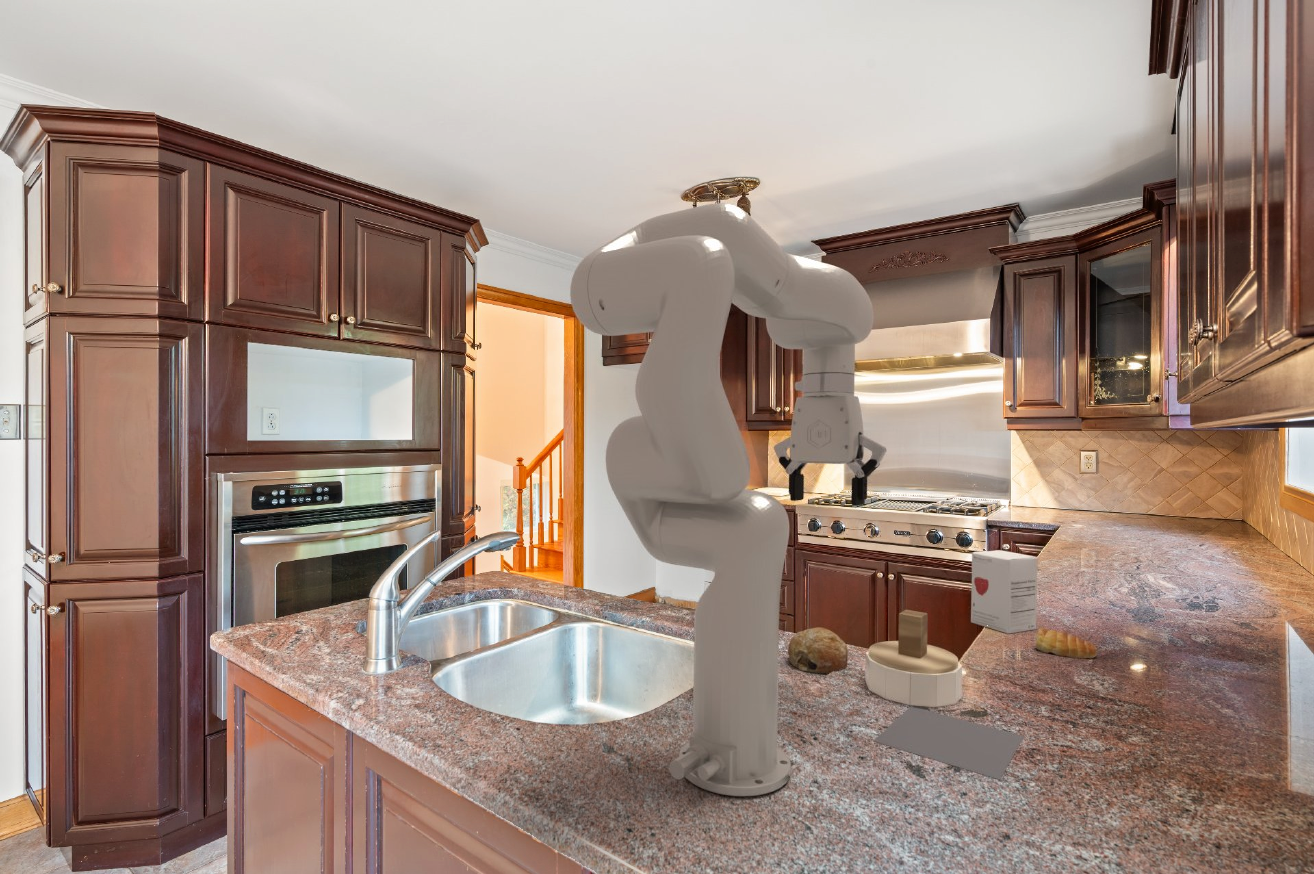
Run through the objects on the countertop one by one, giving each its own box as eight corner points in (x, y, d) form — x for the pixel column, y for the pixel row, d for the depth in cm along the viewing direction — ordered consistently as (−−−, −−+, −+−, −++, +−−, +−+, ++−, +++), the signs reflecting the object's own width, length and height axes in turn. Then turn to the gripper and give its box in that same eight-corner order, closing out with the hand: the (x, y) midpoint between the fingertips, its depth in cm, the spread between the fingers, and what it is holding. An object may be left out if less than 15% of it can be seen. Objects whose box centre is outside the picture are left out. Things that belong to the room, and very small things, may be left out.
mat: (999, 785, 71) (999, 779, 71) (873, 745, 80) (873, 740, 80) (1024, 740, 82) (1024, 736, 82) (910, 710, 91) (910, 706, 91)
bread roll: (783, 686, 109) (778, 648, 106) (798, 645, 117) (794, 609, 114) (843, 697, 105) (839, 658, 102) (855, 654, 113) (851, 617, 110)
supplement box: (969, 622, 137) (969, 551, 137) (998, 618, 141) (999, 549, 141) (1008, 634, 129) (1009, 558, 129) (1038, 629, 133) (1039, 556, 133)
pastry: (1098, 654, 118) (1098, 633, 118) (1095, 664, 113) (1095, 642, 113) (1038, 643, 124) (1038, 623, 124) (1033, 653, 118) (1033, 632, 118)
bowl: (945, 718, 88) (946, 681, 88) (853, 693, 97) (853, 660, 97) (970, 691, 98) (970, 657, 99) (884, 670, 107) (884, 640, 107)
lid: (944, 680, 89) (945, 630, 89) (856, 660, 97) (857, 614, 97) (967, 657, 99) (968, 612, 99) (885, 641, 106) (886, 599, 106)
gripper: (764, 388, 100) (762, 500, 100) (876, 383, 89) (874, 508, 89) (787, 391, 106) (786, 497, 105) (895, 387, 95) (893, 505, 95)
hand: (826, 502), depth 97 cm, fingers open, 9 cm apart
